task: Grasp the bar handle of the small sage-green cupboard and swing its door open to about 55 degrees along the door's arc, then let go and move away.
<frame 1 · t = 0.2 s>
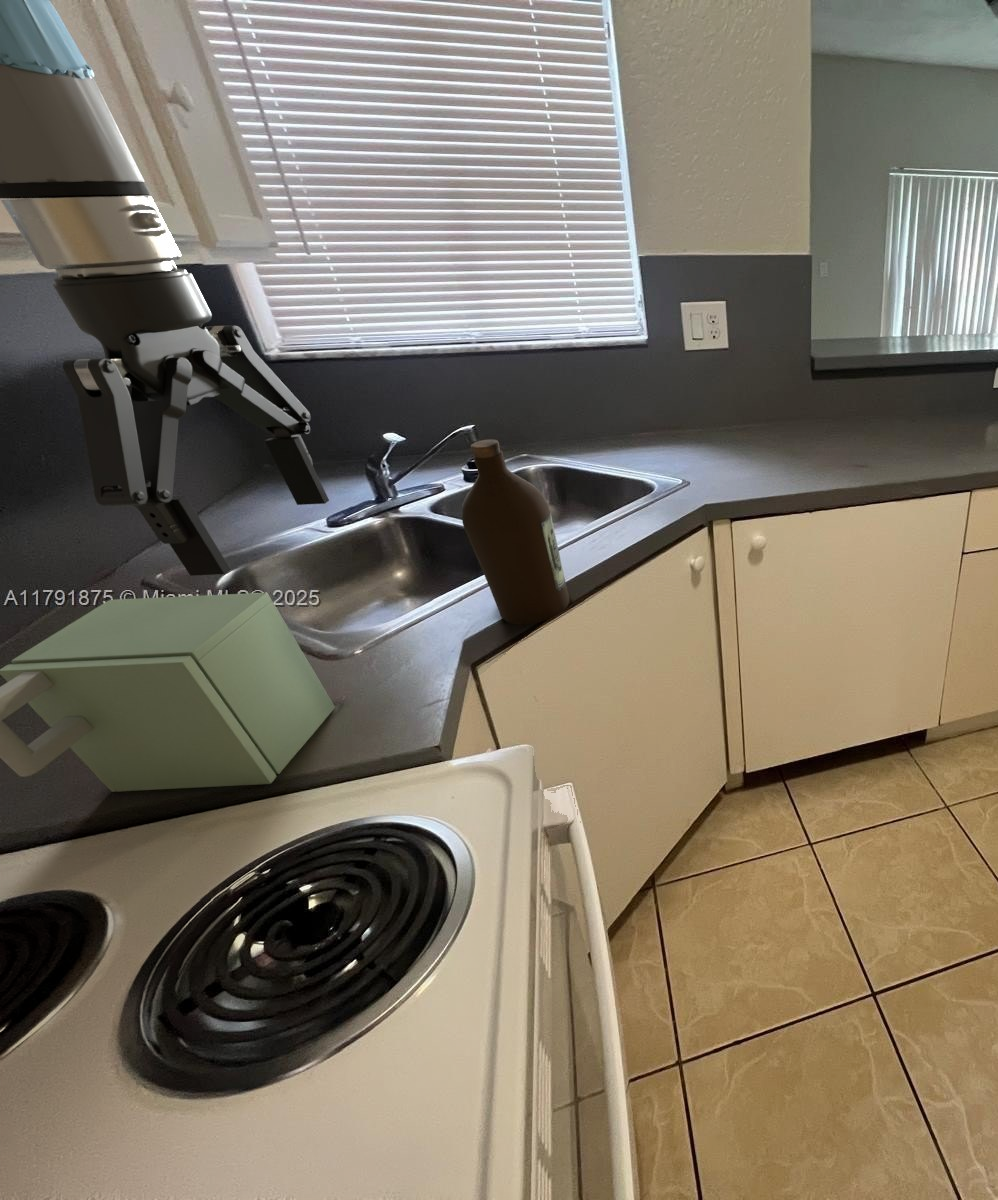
hand: (267, 534, 57), 25 cm above the worktop, tool pointing down, fingers open, 13 cm apart
cupboard door: (125, 754, 57), point 9 cm above the worktop, hinge at 0.0°
olive oil: (538, 612, 91), on the worktop
cupboard: (240, 749, 69), on the worktop
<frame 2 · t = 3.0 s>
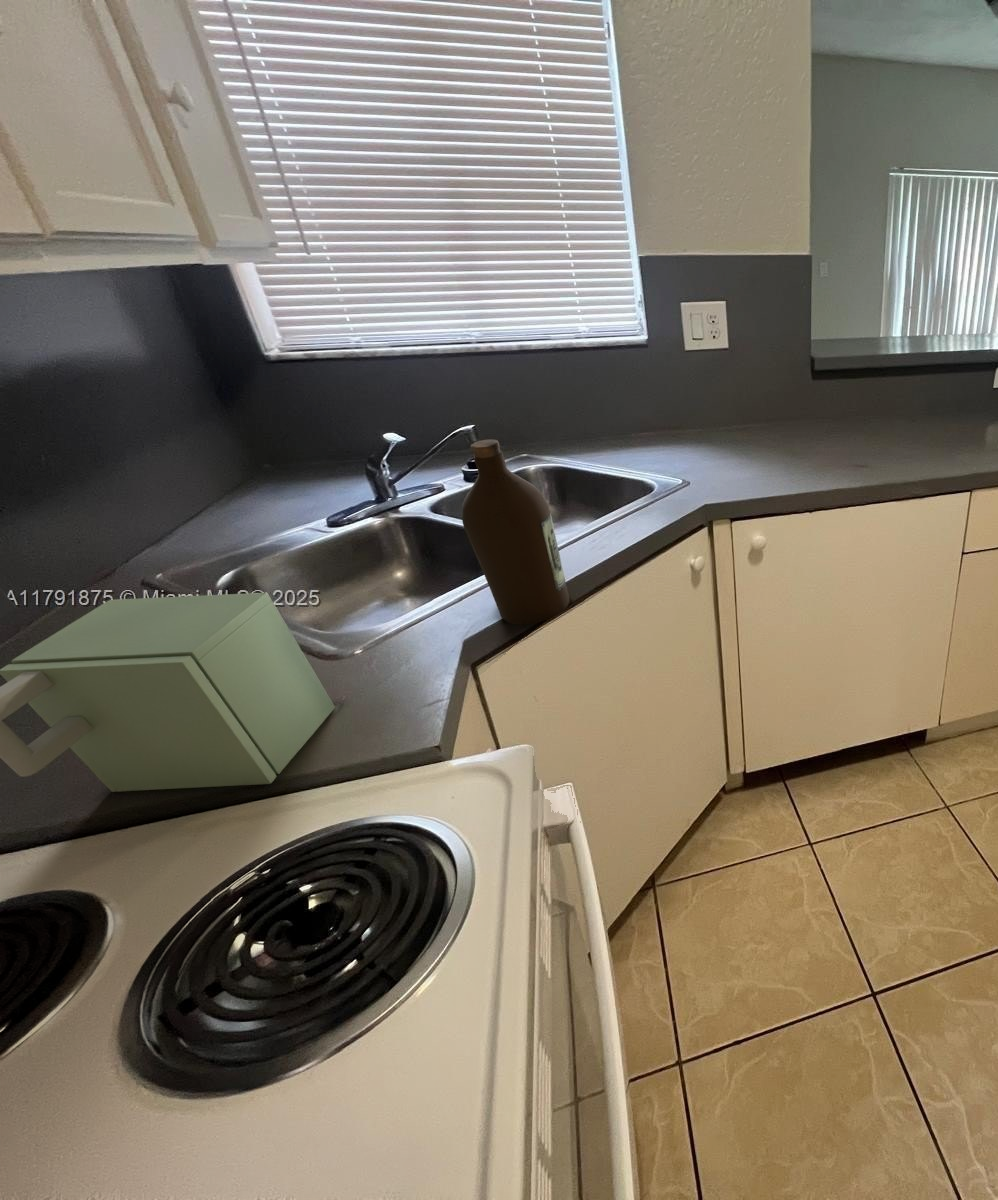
nothing on the worktop moved.
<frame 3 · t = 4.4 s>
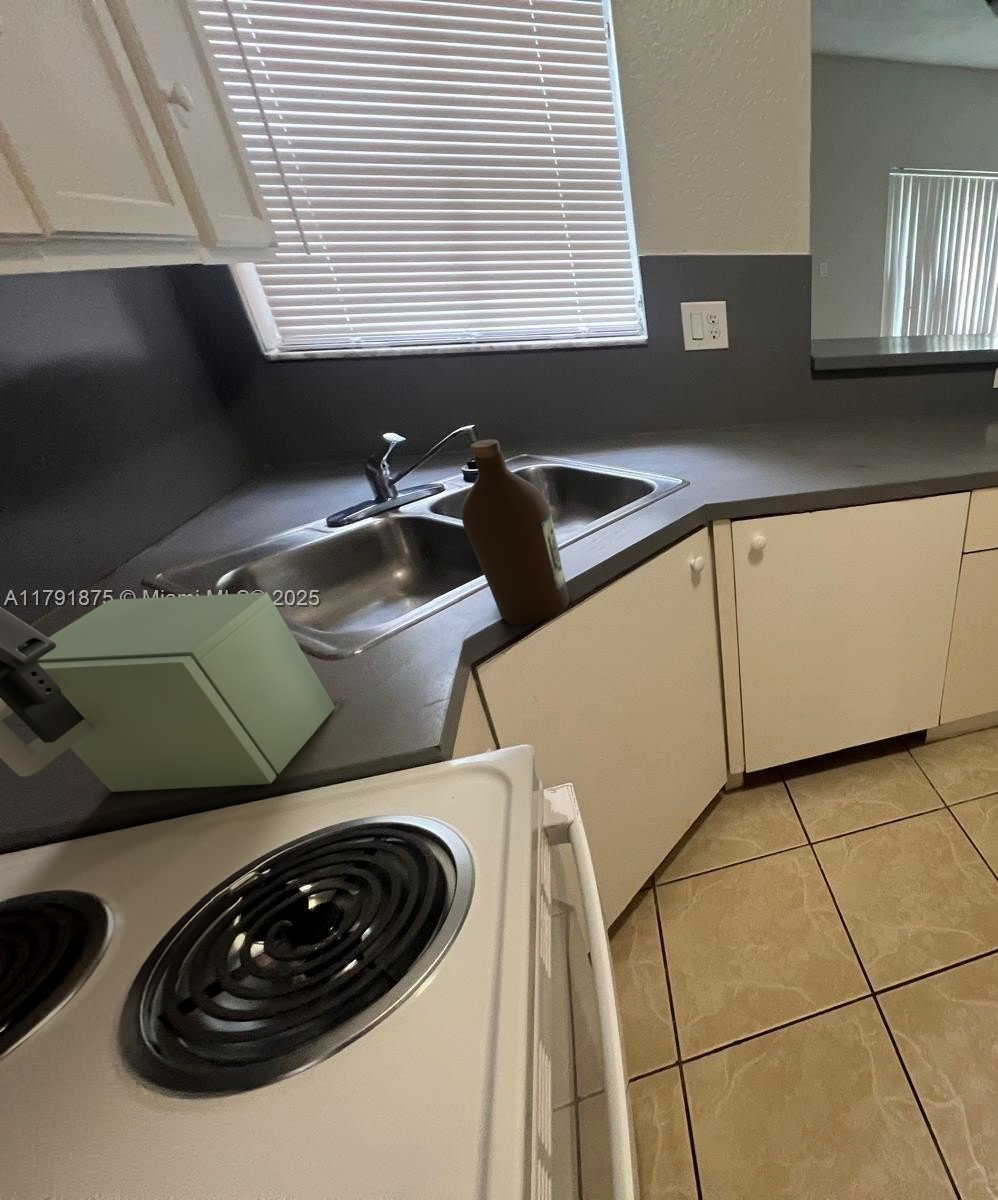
nothing on the worktop moved.
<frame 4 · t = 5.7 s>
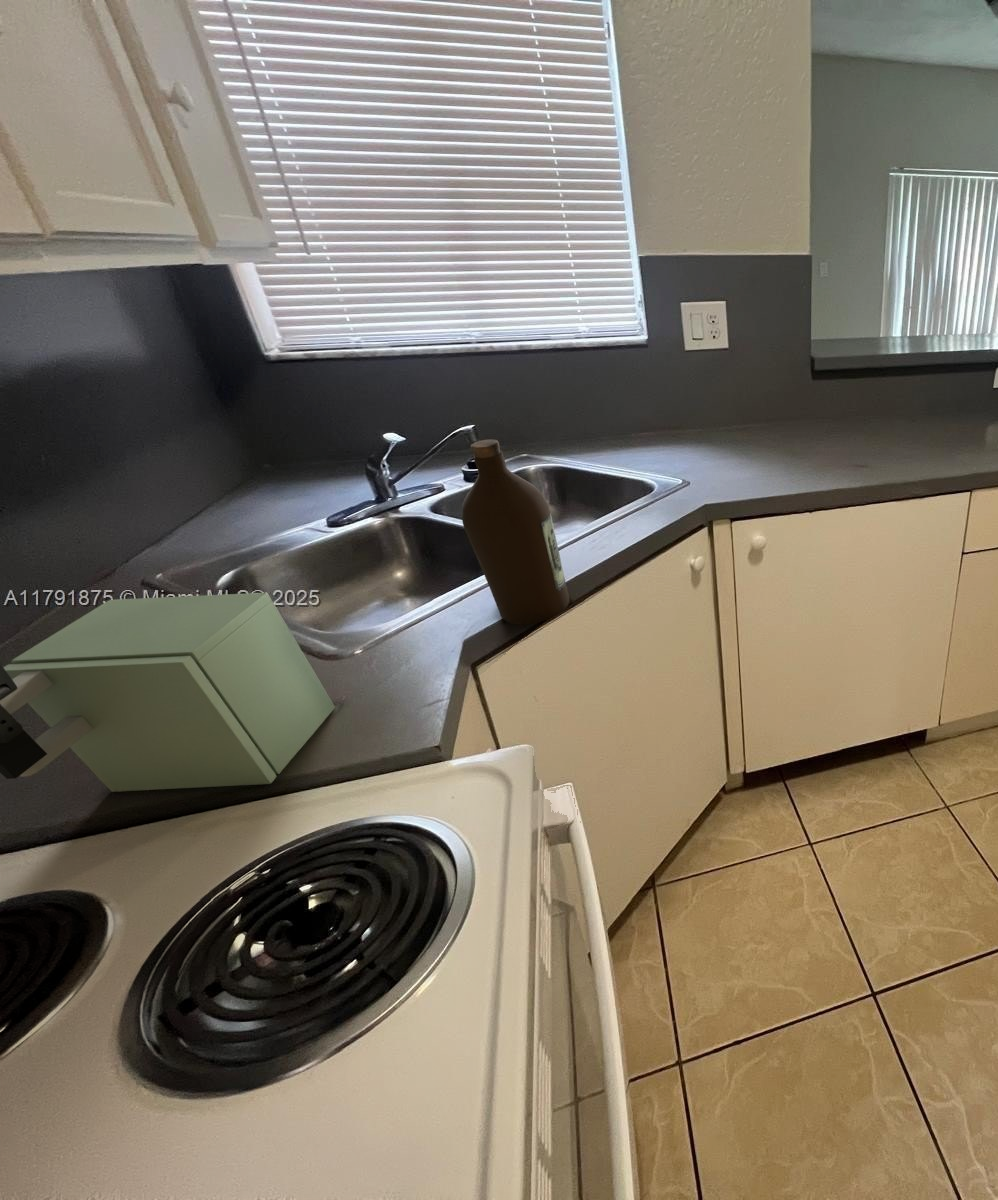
hand: (13, 766, 53), 11 cm above the worktop, tool pointing down, fingers closed on cupboard door, 2 cm apart
cupboard door: (125, 754, 57), point 9 cm above the worktop, hinge at 0.0°, touching gripper
everything else where it was.
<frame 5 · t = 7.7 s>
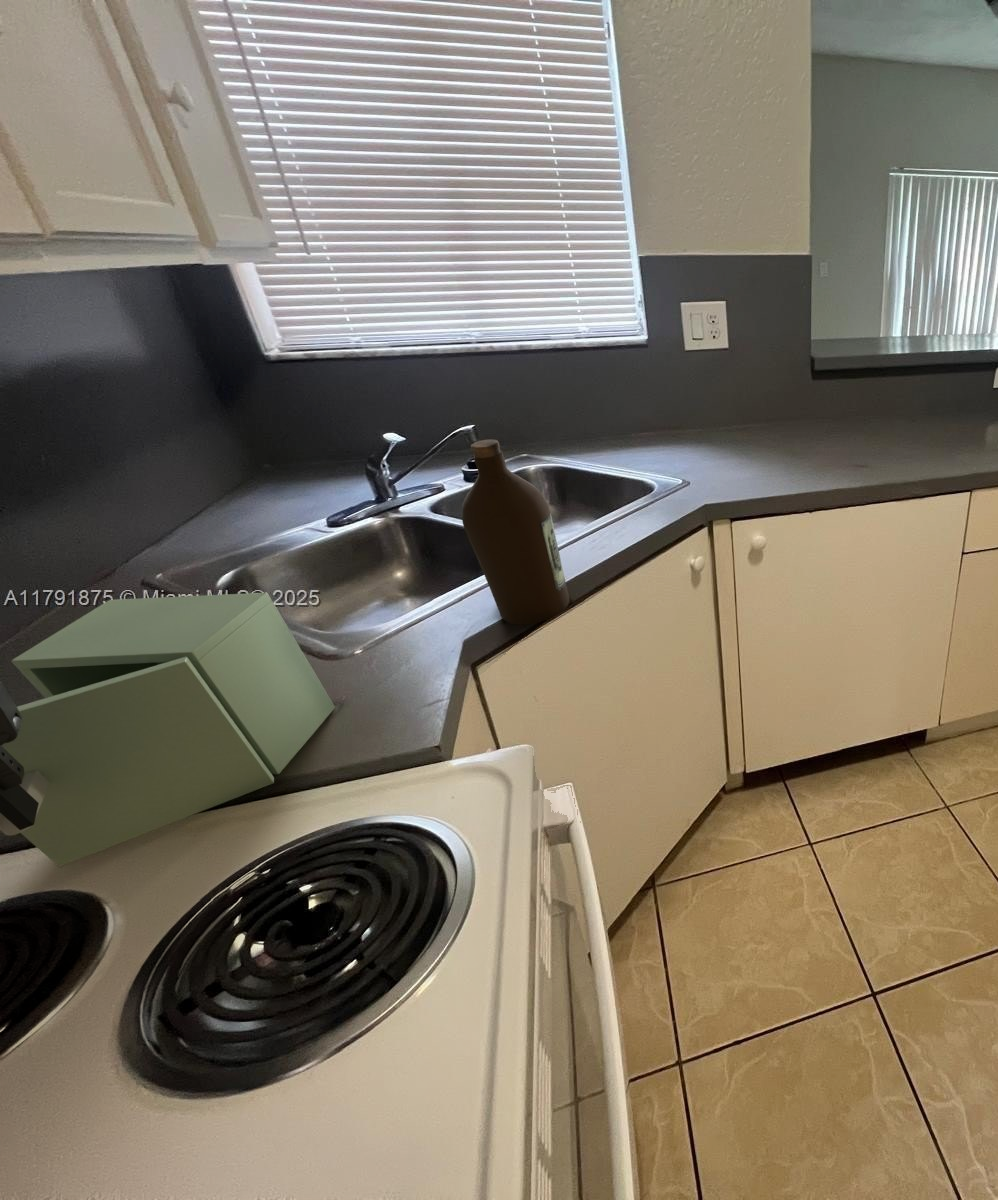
hand: (7, 824, 48), 11 cm above the worktop, tool pointing down, fingers closed on cupboard door, 2 cm apart
cupboard door: (119, 786, 54), point 9 cm above the worktop, hinge at 32.9°, touching gripper
everything else where it was.
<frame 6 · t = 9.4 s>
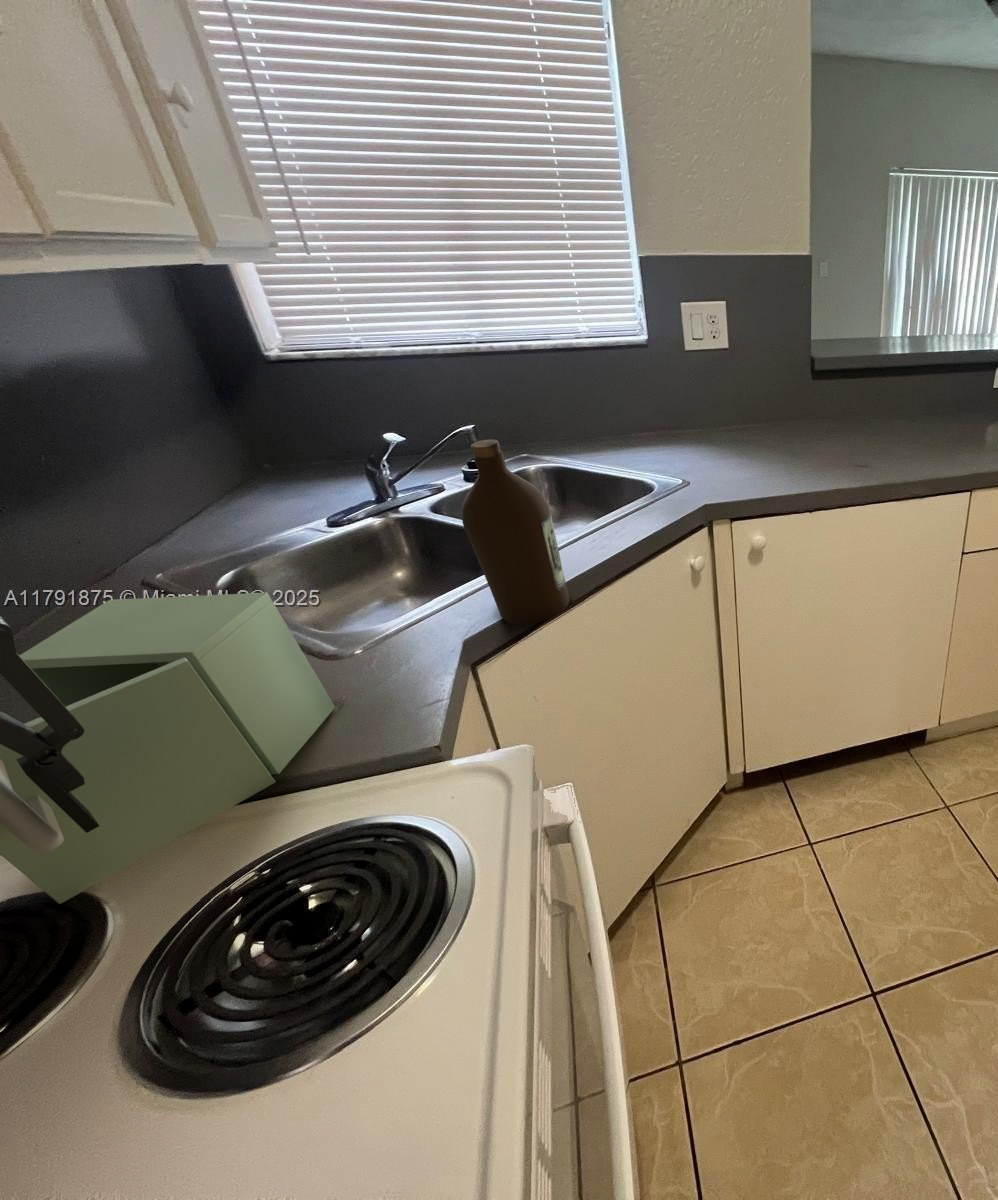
hand: (39, 847, 47), 11 cm above the worktop, tool pointing down, fingers open, 5 cm apart
cupboard door: (135, 796, 53), point 9 cm above the worktop, hinge at 51.5°
everything else where it was.
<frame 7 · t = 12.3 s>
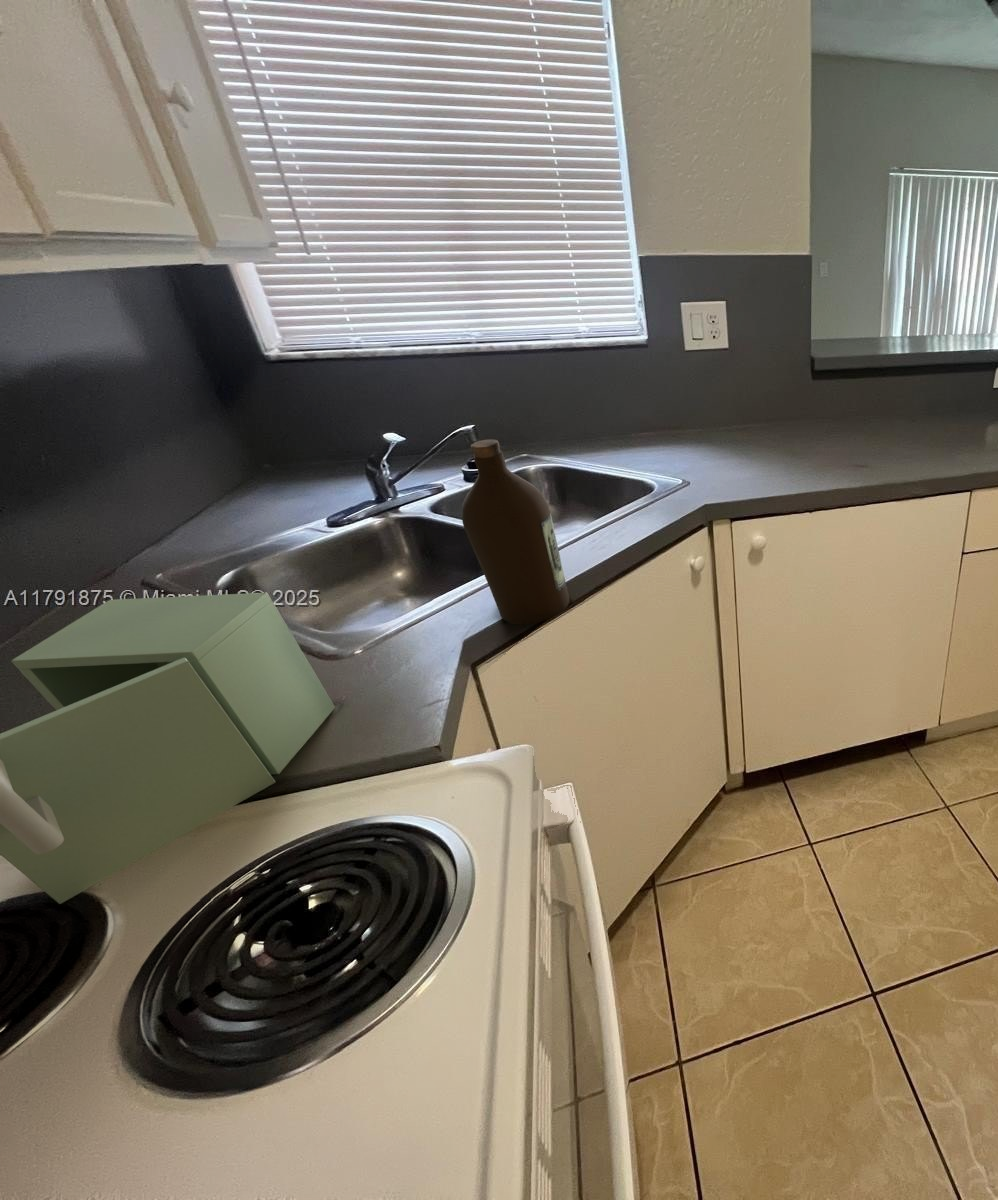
nothing on the worktop moved.
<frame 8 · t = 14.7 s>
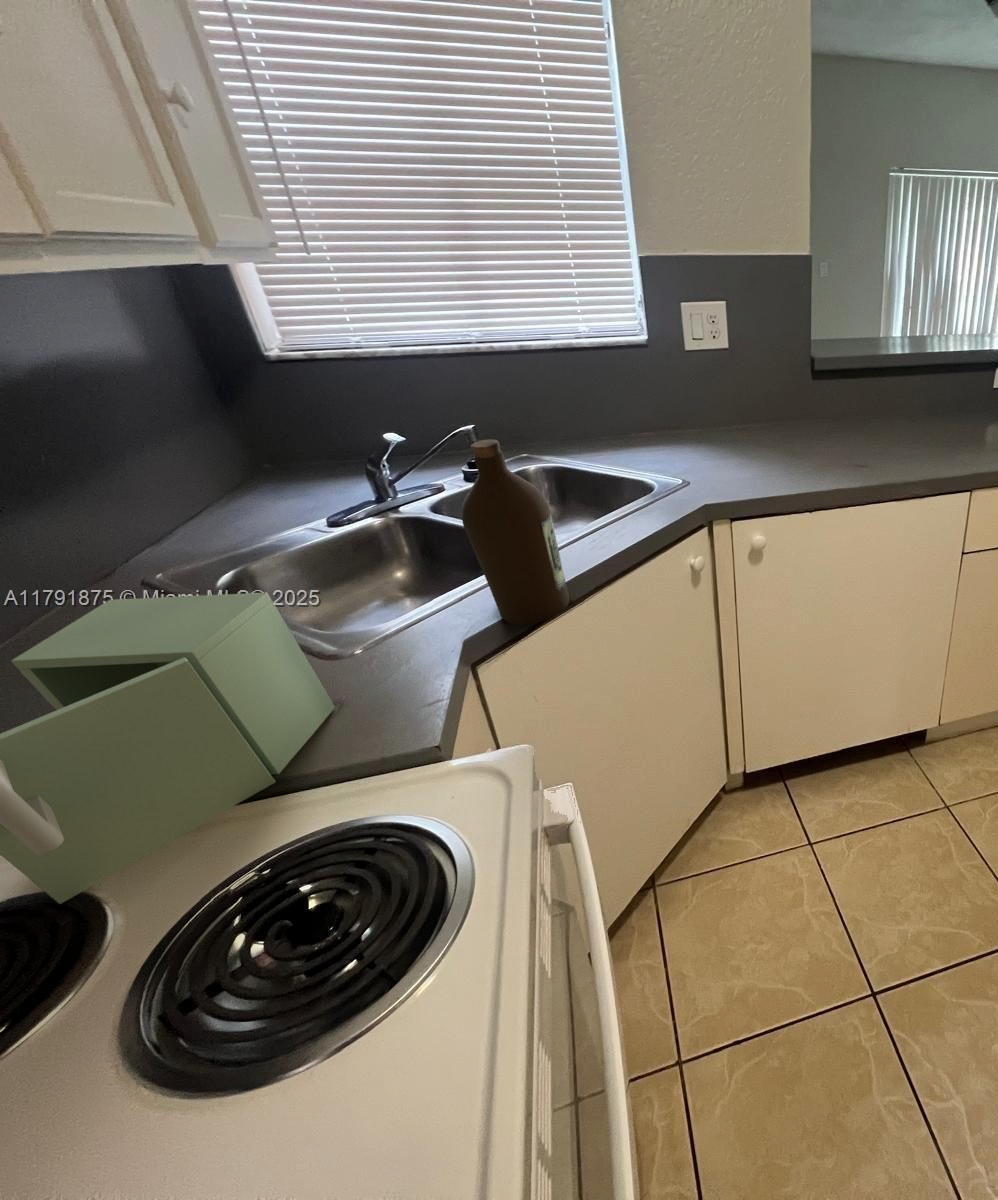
nothing on the worktop moved.
at the end: cupboard door at +52° (first picture: +0°) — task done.
